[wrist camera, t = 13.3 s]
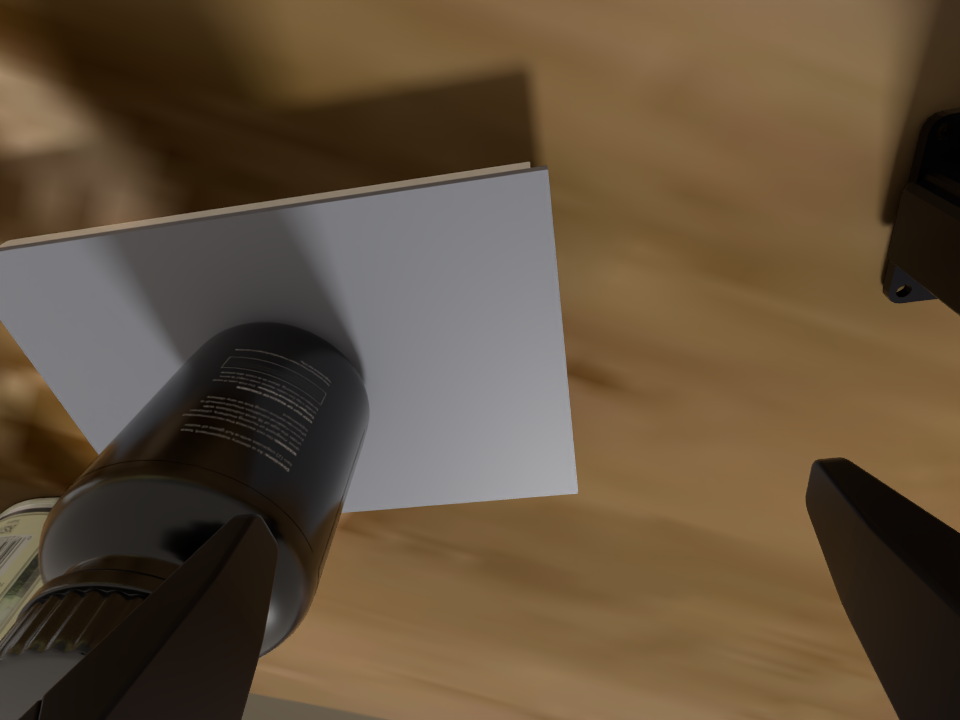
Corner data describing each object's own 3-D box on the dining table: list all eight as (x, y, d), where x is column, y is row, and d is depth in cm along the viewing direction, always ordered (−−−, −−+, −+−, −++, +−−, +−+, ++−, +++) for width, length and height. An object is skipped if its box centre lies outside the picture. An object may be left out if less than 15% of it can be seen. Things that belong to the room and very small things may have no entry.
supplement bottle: (154, 370, 22) (-171, 681, 11) (294, 281, 20) (64, 553, 9) (276, 492, 24) (109, 833, 14) (409, 424, 22) (333, 758, 12)
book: (542, 143, 20) (547, 169, 17) (571, 445, 27) (578, 493, 25) (16, 224, 22) (-45, 258, 20) (181, 481, 30) (152, 528, 27)
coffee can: (132, 629, 37) (-40, 939, 25) (-34, 549, 32) (-333, 876, 21) (225, 567, 32) (70, 903, 21) (48, 465, 28) (-269, 815, 17)
